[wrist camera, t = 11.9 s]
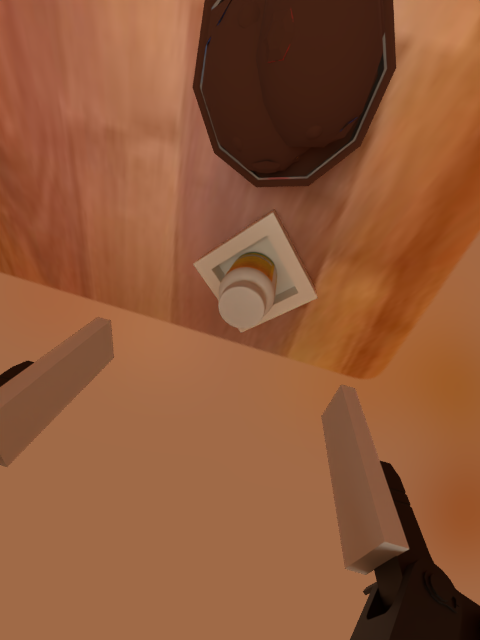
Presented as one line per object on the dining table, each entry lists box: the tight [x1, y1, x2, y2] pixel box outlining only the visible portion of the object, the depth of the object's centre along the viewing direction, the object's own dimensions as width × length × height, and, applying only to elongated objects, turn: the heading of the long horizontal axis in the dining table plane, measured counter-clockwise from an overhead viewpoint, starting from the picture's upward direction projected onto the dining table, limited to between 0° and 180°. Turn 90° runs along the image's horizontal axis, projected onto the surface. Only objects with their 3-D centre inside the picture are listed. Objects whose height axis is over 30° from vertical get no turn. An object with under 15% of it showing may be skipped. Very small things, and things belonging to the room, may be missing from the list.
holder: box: [193, 209, 318, 333], centre depth 28 cm, size 10×10×3 cm
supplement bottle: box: [218, 252, 277, 329], centre depth 24 cm, size 5×5×10 cm
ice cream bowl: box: [193, 0, 396, 187], centre depth 15 cm, size 11×11×15 cm
